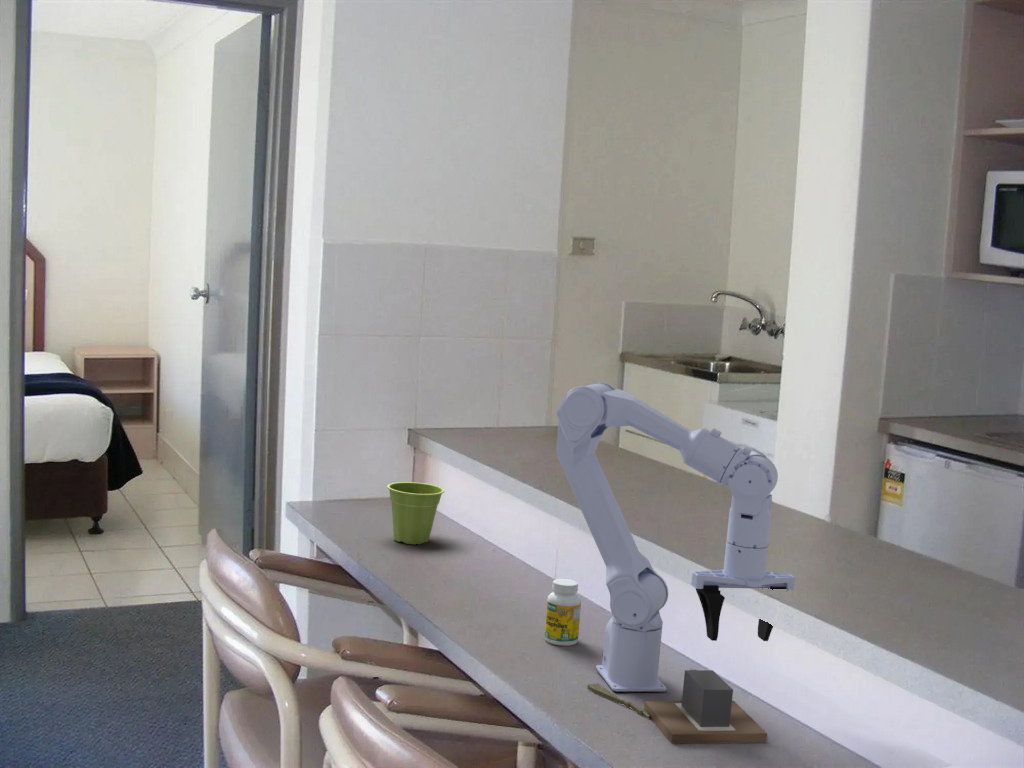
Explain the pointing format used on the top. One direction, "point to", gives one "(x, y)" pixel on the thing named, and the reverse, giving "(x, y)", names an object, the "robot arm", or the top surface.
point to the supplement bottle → (563, 613)
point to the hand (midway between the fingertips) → (737, 638)
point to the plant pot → (413, 510)
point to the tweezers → (614, 698)
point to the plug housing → (707, 698)
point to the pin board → (686, 730)
